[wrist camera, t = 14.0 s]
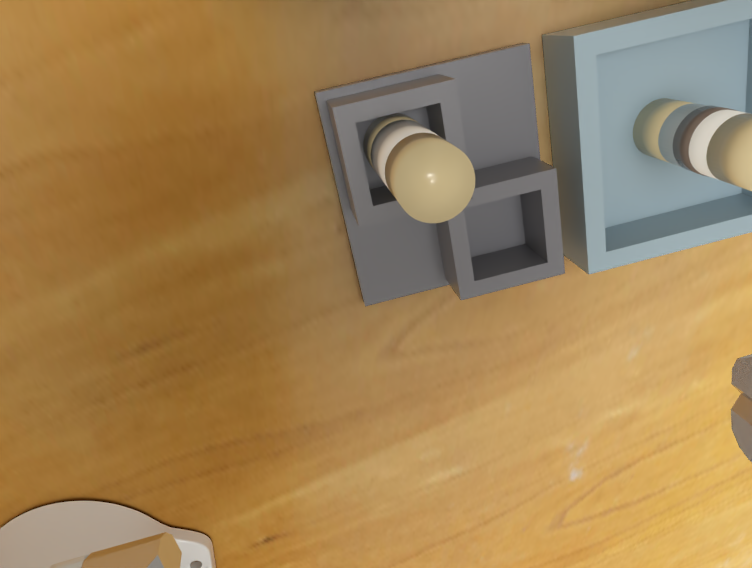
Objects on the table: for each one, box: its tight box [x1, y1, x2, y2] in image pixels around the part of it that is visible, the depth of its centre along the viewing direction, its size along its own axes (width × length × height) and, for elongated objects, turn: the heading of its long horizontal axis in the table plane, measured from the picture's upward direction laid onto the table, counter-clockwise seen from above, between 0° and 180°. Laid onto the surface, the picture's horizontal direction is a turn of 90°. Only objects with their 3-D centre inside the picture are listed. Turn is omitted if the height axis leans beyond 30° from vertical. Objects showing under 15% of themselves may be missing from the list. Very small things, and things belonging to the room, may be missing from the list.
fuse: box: [363, 113, 475, 223], centre depth 32 cm, size 4×4×10 cm
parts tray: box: [542, 0, 752, 274], centre depth 38 cm, size 14×14×4 cm
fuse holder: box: [314, 43, 565, 306], centre depth 37 cm, size 14×13×4 cm
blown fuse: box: [633, 98, 752, 191], centre depth 35 cm, size 4×4×10 cm
